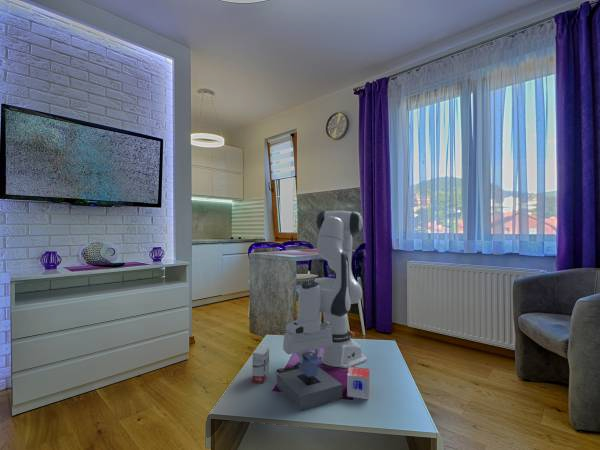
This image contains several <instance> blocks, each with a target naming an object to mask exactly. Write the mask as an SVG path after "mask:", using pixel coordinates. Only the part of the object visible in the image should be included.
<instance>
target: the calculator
mask: <svg viewBox="0 0 600 450" xmlns="http://www.w3.org/2000/svg"><path fill="white" fill-rule="evenodd" d="M296 369H299V362H297V363H296V364H294V365H293V366H290V367H284V368H277V369H276V372H277V374H278V373H283V372H287V371H291V370H296Z"/></svg>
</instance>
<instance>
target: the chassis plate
mask: <svg viewBox="0 0 600 450" xmlns="http://www.w3.org/2000/svg"><path fill="white" fill-rule="evenodd" d="M276 388H277V389H279V390H280V392H281V393H282V394H283V395H284V396H285V397H286V398H287V399H288V400H289V402H290V403H291V404H292V406H294V407H295V408H296V409H297V410H298V411H299V412H301V411H304V410H307V409H311V408H315V407H318V406H320V405H324V404H327V403H331V402H334V401H337V400H341V399H343V384H342V383H341V382H340V381H338V379H335V378H334V377H333V376H331V374H329V373H327V372H326V371H325V370H324V369H322V368H321V367H319V366H318V374H317V375H315V376H311V377H308V376H306V375H305V374H304V373H303V372H301V371H300V370H299V369H296V370H291V371H287V372H283V373H278V372H277V373H276Z"/></svg>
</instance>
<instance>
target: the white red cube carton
mask: <svg viewBox="0 0 600 450" xmlns="http://www.w3.org/2000/svg"><path fill="white" fill-rule="evenodd" d="M369 394H370V368H366V367H365V368H364V367H357V366H352V367H350V366H349V368H348V371H347V375H346V396H347V397H351V398H357V399H365V400H369V399H370V398H369V396H370V395H369Z"/></svg>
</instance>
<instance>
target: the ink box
mask: <svg viewBox="0 0 600 450" xmlns="http://www.w3.org/2000/svg"><path fill="white" fill-rule="evenodd" d="M251 370H252V373H251V374H252V375H251V376H252V379H251V382H252V383H258V384H263V383H264V382H265V381H266V380H267V378H268V377H269V375H270V347H269V346H262V345H261V346H259V345H258V346H257V347H256V348H255V350H253V352H252V368H251Z"/></svg>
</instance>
